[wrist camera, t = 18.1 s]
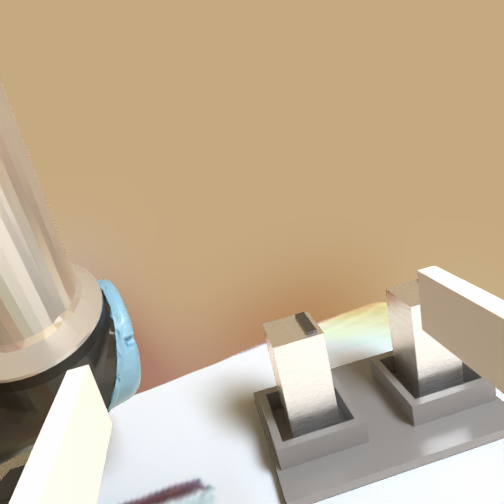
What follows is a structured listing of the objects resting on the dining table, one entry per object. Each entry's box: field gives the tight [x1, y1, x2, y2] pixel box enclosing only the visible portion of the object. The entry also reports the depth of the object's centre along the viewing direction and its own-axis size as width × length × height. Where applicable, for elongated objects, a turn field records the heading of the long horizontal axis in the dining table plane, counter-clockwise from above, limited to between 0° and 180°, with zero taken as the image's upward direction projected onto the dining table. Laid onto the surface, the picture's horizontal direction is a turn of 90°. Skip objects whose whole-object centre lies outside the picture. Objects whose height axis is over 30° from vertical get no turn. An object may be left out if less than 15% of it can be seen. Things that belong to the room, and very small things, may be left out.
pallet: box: [254, 351, 504, 504], centre depth 44 cm, size 24×16×4 cm, turn 100°
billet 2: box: [386, 279, 463, 399], centre depth 43 cm, size 5×5×12 cm
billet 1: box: [262, 312, 340, 439], centre depth 41 cm, size 5×5×12 cm
